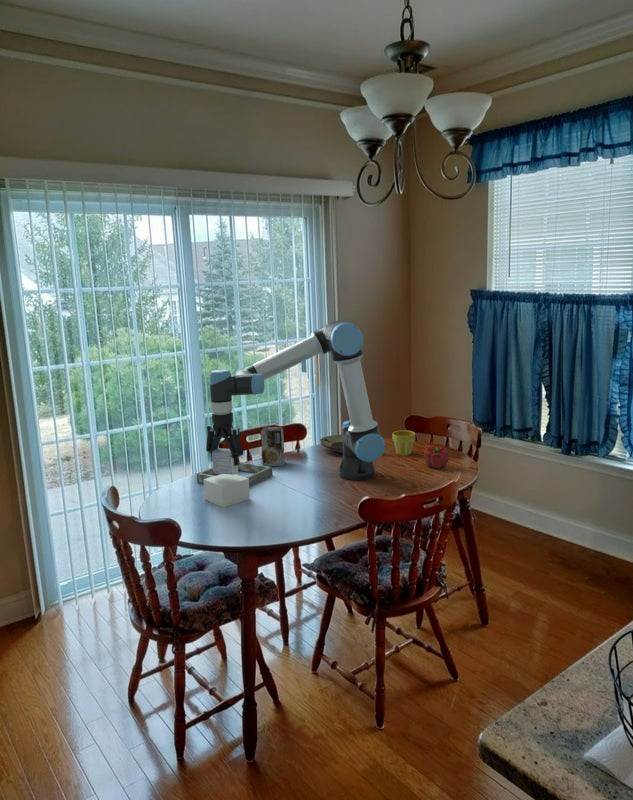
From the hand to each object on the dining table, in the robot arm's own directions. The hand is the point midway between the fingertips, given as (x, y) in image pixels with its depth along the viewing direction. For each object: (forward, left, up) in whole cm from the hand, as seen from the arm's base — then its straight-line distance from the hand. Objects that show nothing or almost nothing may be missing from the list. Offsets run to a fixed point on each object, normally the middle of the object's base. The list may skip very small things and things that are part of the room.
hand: (225, 471), depth 224 cm
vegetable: (-54, -72, -11) cm, 91 cm away
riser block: (0, 0, -11) cm, 11 cm away
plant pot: (-33, -85, -11) cm, 92 cm away
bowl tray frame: (+13, -20, -11) cm, 26 cm away
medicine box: (0, 0, 0) cm, 0 cm away
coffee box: (+11, -44, -11) cm, 47 cm away
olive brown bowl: (-9, -76, -11) cm, 77 cm away
